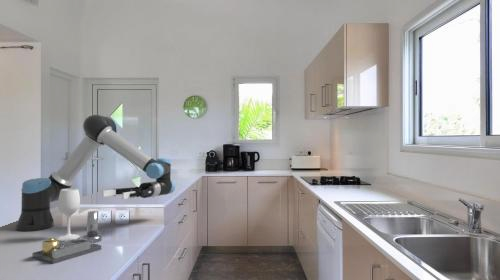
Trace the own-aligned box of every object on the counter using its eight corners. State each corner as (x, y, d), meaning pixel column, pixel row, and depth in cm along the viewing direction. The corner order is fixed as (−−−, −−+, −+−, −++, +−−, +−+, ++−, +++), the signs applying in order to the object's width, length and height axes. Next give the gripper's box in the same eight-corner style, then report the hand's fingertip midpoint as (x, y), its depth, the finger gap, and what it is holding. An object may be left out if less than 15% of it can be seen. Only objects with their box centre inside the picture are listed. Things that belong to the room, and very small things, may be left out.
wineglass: (69, 241, 132) (70, 190, 132) (51, 240, 133) (52, 190, 134) (84, 236, 140) (85, 188, 141) (67, 235, 142) (68, 187, 142)
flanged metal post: (79, 241, 132) (79, 212, 132) (94, 237, 138) (95, 209, 139) (89, 244, 129) (90, 214, 129) (105, 239, 135) (105, 211, 135)
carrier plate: (31, 256, 113) (31, 238, 113) (79, 243, 129) (80, 227, 129) (53, 263, 106) (53, 244, 107) (101, 249, 122) (101, 232, 122)
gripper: (167, 199, 154) (131, 205, 136) (132, 195, 167) (95, 201, 148) (167, 183, 155) (132, 188, 136) (132, 181, 167) (95, 184, 149)
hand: (112, 194), depth 142 cm, fingers open, 13 cm apart
